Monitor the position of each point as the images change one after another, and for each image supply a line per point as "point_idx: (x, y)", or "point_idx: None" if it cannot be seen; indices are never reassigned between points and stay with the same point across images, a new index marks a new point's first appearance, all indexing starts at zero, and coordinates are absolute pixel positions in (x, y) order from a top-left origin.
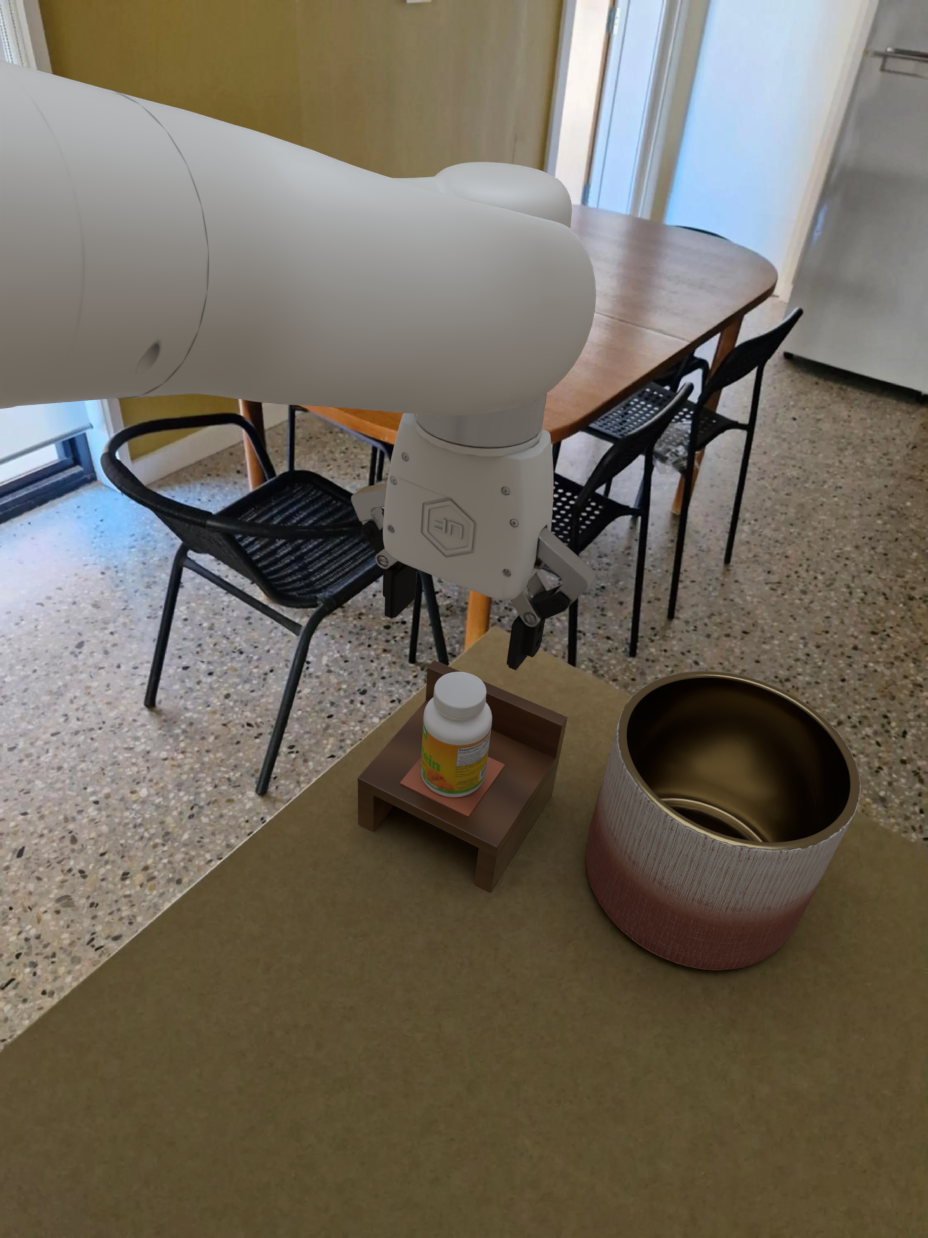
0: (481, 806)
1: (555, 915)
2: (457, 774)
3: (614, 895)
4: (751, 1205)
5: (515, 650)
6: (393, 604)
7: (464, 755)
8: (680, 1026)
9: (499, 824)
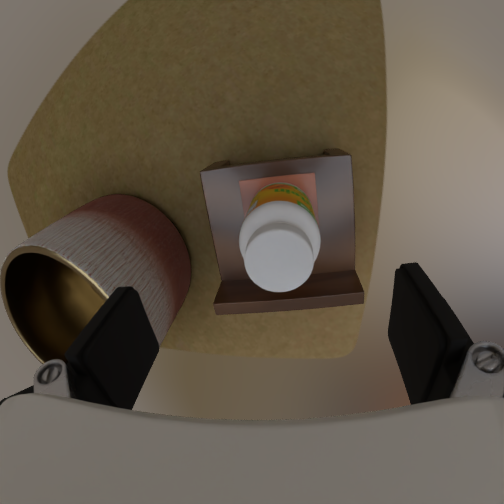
0: (237, 198)
1: (169, 178)
2: (257, 197)
3: (126, 205)
4: (35, 124)
5: (100, 311)
6: (411, 286)
7: (250, 209)
8: (83, 170)
9: (213, 192)
